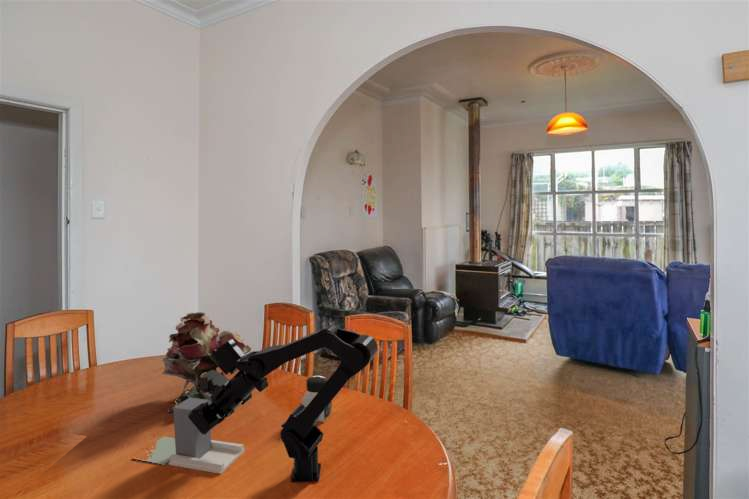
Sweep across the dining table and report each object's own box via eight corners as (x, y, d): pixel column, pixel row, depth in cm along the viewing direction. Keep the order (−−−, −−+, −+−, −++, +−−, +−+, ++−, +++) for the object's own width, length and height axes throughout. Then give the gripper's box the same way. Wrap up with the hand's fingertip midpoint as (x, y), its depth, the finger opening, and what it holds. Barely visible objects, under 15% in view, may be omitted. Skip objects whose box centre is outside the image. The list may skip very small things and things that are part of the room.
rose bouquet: (260, 385, 153) (257, 304, 151) (208, 424, 125) (203, 325, 123) (200, 379, 160) (196, 301, 158) (138, 414, 132) (132, 320, 130)
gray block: (211, 447, 111) (209, 399, 110) (196, 460, 105) (193, 410, 104) (192, 444, 113) (189, 397, 111) (176, 457, 107) (173, 407, 106)
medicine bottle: (324, 422, 125) (323, 383, 124) (302, 420, 127) (301, 381, 126) (332, 411, 132) (331, 374, 131) (310, 409, 134) (309, 372, 133)
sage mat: (194, 442, 115) (194, 441, 115) (164, 465, 105) (164, 464, 105) (163, 437, 118) (163, 436, 118) (131, 459, 108) (131, 458, 108)
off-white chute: (244, 451, 111) (244, 443, 111) (221, 473, 101) (220, 465, 101) (196, 443, 115) (195, 436, 115) (169, 464, 105) (168, 457, 105)
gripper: (240, 350, 113) (206, 386, 117) (193, 376, 96) (155, 417, 99) (267, 381, 112) (232, 416, 116) (224, 414, 94) (185, 454, 98)
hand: (203, 424), depth 107 cm, fingers closed, pressing on gray block
